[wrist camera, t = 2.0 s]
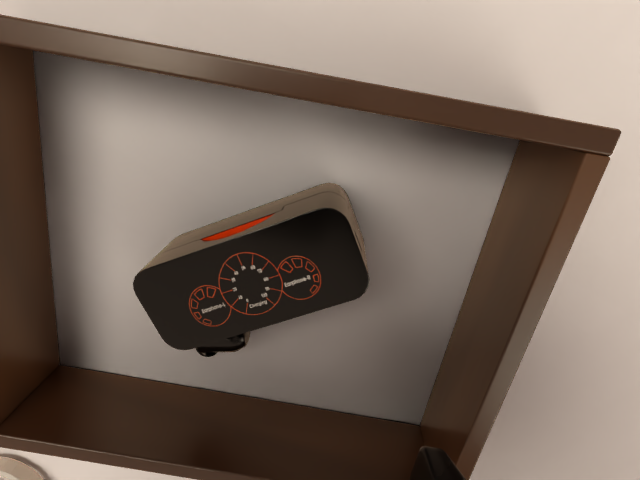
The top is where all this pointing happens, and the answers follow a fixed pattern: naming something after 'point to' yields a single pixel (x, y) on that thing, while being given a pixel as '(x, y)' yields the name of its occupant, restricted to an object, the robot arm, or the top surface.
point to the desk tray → (252, 413)
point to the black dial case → (255, 271)
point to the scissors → (17, 470)
